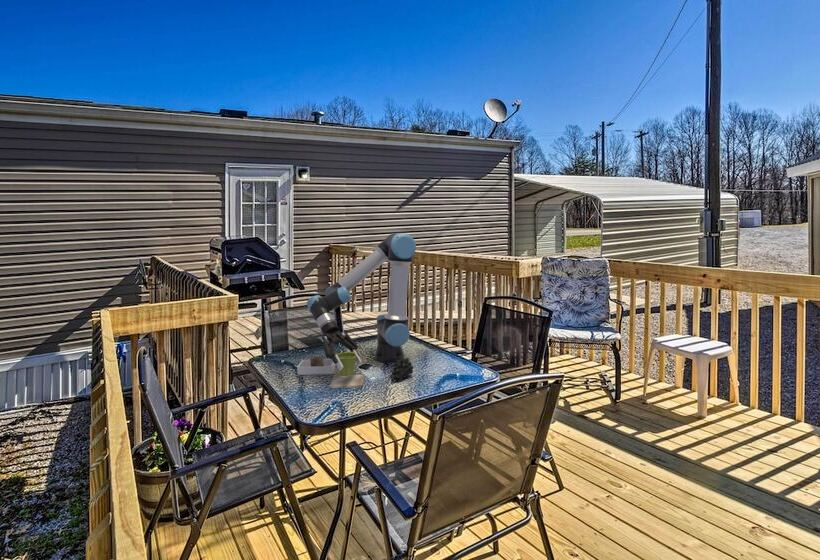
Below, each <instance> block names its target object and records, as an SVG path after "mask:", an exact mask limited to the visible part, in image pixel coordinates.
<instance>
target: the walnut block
mask: <svg viewBox="0 0 820 560" xmlns="http://www.w3.org/2000/svg"><path fill="white" fill-rule="evenodd" d="M323 357H324V356H317V355H316V356H311V358H310V359H309V360H310V363H311V367H315V366H323V359H324V358H323Z"/></svg>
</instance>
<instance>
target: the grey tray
mask: <svg viewBox="0 0 820 560" xmlns="http://www.w3.org/2000/svg"><path fill="white" fill-rule="evenodd" d="M336 367H337V365H336V364H335V363H334V362H333V360H332V359H330V358H323V366H315V367H311V363H310V359H302V360H301V361H300V363H299V364H298V366H297V375H298V376H303V375H304V376H305V375H333V374H334V371H335V369H336Z"/></svg>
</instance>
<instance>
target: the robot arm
mask: <svg viewBox="0 0 820 560" xmlns="http://www.w3.org/2000/svg"><path fill="white" fill-rule="evenodd" d="M416 248H417V244H416V240H415V239H414V238H413V237H412V236H411V234H410V235H409V234H408V233H405V232H393V233H391V234H389V235H388V236H386V237H385V238H384V239H383V240H382V241H381V242H380V243H379V244H378V245H376V247H375V250H374V251H373V252H371V253H370V254H369V255H368V256H367V257H365V258H364V259H363V260H361V262H359V263H358V264H357V265H356V266H354V267H353V268H352V269H351V270H350V271H348V272H347V273H346V274H345V275H344V276H342V277H341V278H340V279H338V280H337V282H335V283H334V284H333V285H329V286H328V287H327V288H326V289H325V293H324V294H325V295H324V296H321V295H318V294H316V295H312V296H310V298H309V299H308V300H307V301H306V306H307V308H308V310H309V313H311V316H312V317H313V320H315V322H316V324H317V326H318V328H319V329H320V332H321V333H322V334H323V335H322V336H321V337H320V340H319V341H320V342H321V343H322V344H321V345H322V348H323V351H324V355H325V359H332V360H333V362H334V363H335V364H336V367H337V369H338V371H339V370H342V368H343V365H342V363H341V361H340V359H339V358H338V356H337V354H336V351H335V350H336V348H335V345H336V344H338V343H339V344H341V345H342V346H343V347H344V348H347V350H349V351H350V352H351V353H356V354H357V356H356V359H355V364H356V365H357V366H360V364H361V363H362V359H361V358H360V354H359V353H358V351H357V350H358V348H359V346H358V344H357V343H356V341H354V339H353V338H352V337H351V336H350V335H349V333H348V332H347V330H345V331H344V332H341V331H340V327H339V326H338V324H337V322H336V321H335V320H336V319H334V317H333V315H332V314H331V312H332V311H333V310H335V309H337V308H340V307H341V306H342V305H344V304H347V303H348V302H349V301H351V299H352V297H351V294H350V291H352V290H353V289H354V288H355V287H356V286H358V285H359V284H360V283H361V282H362V281H364V280H365V279H366V278H367V277H369V276H370V275H371V274H372V273H373V272H374V271H376V270H377V269H379V267H381V266H382V265H383V264H384V263H386V262H389V264H390V275H389V277H390V278H389V287H388V301H387V302H388V304H387V313H385V314H379V315H377V317H376V330H377V331H376V333H377V334H376V335H377V337H376V338H377V345H376V349H375V351H374V360H375V361H377V362H382V363H383V362H384V363H396V362H397V360H401V359H402V358H404V359H405V352H404V350H403V345H405V344H406V343H407V342H408V341H409V339H410V335H411V333H410V332H411V331H410V329H409V317H408V316H407V315H406V313H407V311H406V310H407V296H408V281H409V270H410V267H409V266H410V265H411V264H412V263H413V258H414V257H413V256H414V254H415V253H416V250H417V249H416Z"/></svg>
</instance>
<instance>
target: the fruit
mask: <svg viewBox="0 0 820 560" xmlns="http://www.w3.org/2000/svg"><path fill="white" fill-rule="evenodd" d="M392 366H393V368H392V369H391V370H390V373H391V374H389V375H390V376H389V378H390V379H391V380H393V381H394V382H397V381H398V379H399V381H400V380H403V378H408V377H409V376H410V375H411V374H413V372H414V366H413V364H412V362H411V361H410V358H408V357H407V358H405V357H404V358H402V359H401V360H397V361H395V362H393V365H392Z"/></svg>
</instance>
